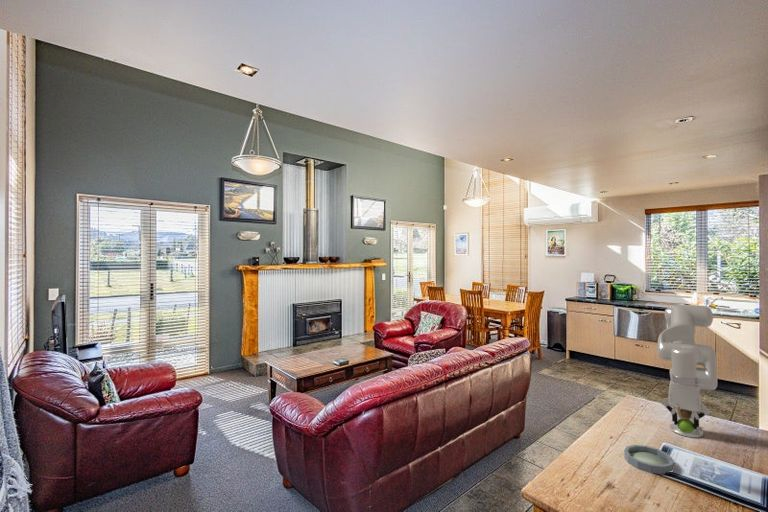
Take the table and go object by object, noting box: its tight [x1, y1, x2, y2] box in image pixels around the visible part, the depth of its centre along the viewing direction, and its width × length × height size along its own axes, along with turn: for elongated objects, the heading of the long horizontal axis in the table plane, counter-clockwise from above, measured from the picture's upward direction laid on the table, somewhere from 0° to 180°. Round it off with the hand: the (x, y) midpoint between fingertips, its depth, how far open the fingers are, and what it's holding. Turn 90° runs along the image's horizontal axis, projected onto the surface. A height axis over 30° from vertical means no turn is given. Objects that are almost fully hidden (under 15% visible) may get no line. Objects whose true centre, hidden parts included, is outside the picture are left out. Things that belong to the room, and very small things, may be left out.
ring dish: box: [623, 444, 675, 475], centre depth 156 cm, size 16×16×3 cm
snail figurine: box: [676, 403, 695, 433], centre depth 147 cm, size 5×6×12 cm
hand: (685, 425), depth 147 cm, fingers closed on snail figurine, 5 cm apart
